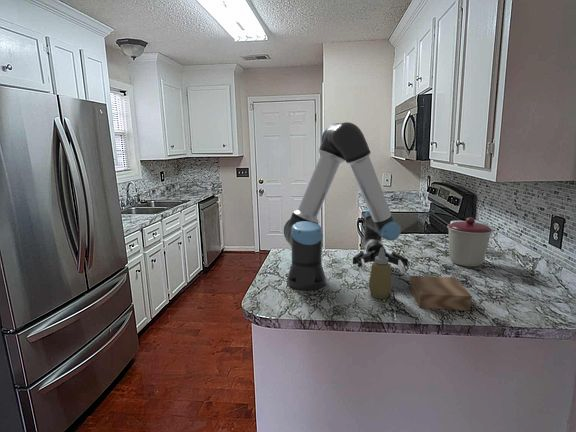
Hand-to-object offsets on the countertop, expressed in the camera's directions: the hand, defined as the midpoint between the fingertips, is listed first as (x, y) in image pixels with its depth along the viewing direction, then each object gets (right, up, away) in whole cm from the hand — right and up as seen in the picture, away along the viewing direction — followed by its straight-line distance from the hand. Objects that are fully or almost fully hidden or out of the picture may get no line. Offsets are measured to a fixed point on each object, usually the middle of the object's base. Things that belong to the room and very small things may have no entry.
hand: (383, 269), depth 125 cm
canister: (+47, -3, +34) cm, 58 cm away
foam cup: (+55, +3, +58) cm, 79 cm away
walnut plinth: (+19, -10, -1) cm, 22 cm away
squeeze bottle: (-1, -10, +2) cm, 10 cm away
